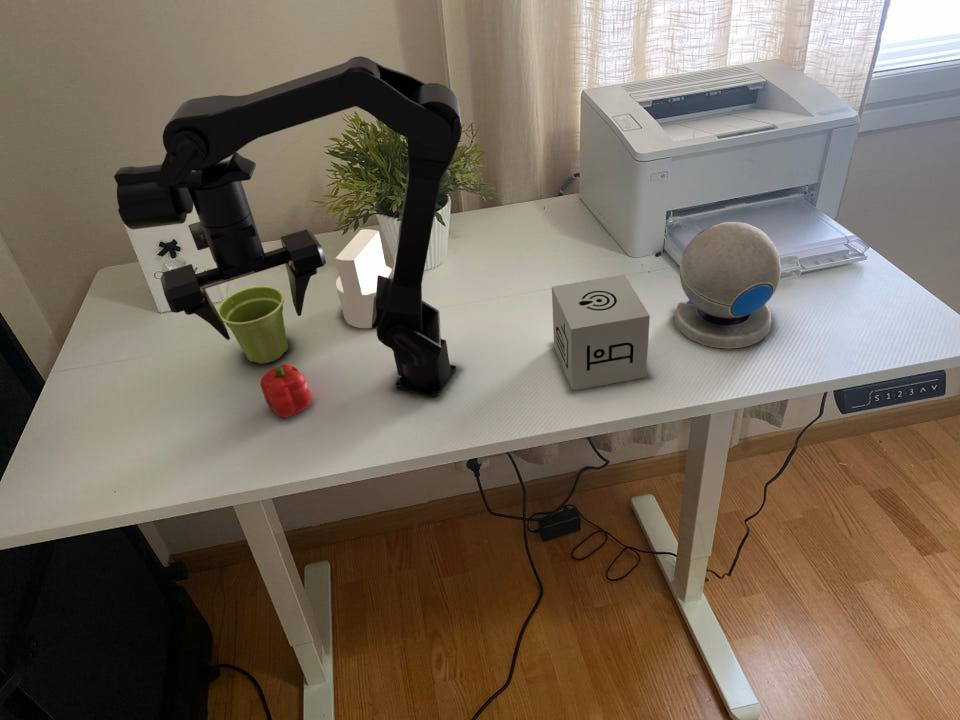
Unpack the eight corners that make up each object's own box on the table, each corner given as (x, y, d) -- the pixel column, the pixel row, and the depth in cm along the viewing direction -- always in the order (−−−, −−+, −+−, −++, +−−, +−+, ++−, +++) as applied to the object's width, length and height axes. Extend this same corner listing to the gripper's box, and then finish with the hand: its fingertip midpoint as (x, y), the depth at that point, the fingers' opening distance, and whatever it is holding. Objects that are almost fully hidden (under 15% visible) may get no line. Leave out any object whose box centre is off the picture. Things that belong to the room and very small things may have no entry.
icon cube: (572, 390, 96) (571, 329, 90) (554, 345, 104) (551, 286, 98) (645, 377, 97) (649, 315, 91) (622, 333, 105) (624, 274, 99)
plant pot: (240, 379, 105) (222, 330, 99) (230, 345, 112) (212, 297, 106) (304, 358, 107) (289, 310, 102) (291, 326, 114) (276, 279, 109)
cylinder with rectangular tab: (386, 331, 111) (372, 263, 103) (334, 324, 113) (316, 257, 106) (409, 298, 117) (397, 231, 110) (359, 292, 120) (344, 227, 113)
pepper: (318, 391, 101) (306, 353, 97) (306, 421, 96) (294, 382, 92) (276, 392, 102) (263, 354, 98) (263, 422, 97) (248, 383, 93)
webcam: (736, 288, 111) (750, 197, 102) (790, 334, 101) (810, 238, 92) (659, 309, 109) (666, 218, 99) (706, 359, 99) (718, 263, 90)
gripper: (287, 170, 93) (317, 275, 102) (135, 212, 87) (181, 319, 97) (311, 203, 85) (340, 314, 94) (144, 251, 79) (194, 364, 89)
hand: (264, 326), depth 94 cm, fingers open, 9 cm apart
